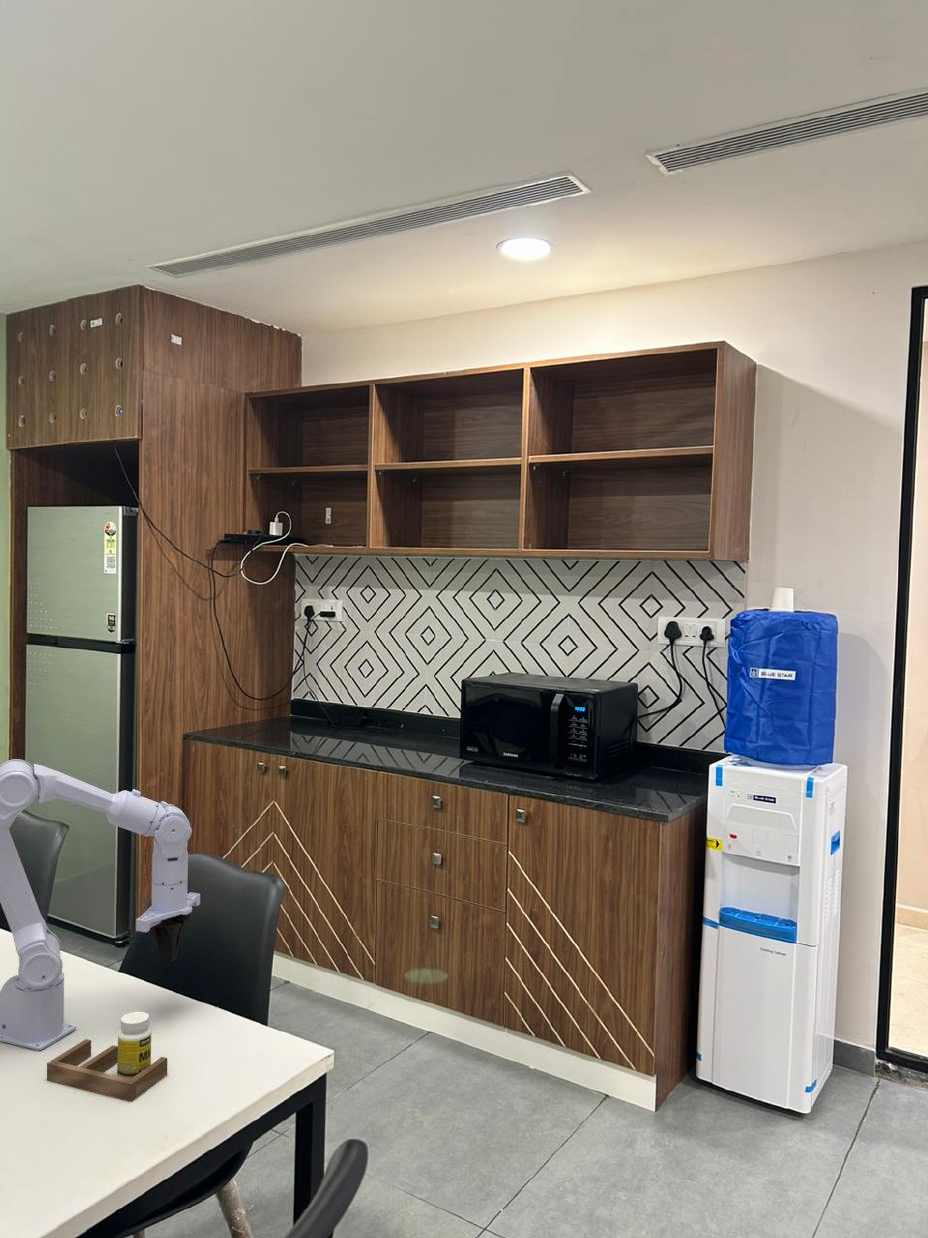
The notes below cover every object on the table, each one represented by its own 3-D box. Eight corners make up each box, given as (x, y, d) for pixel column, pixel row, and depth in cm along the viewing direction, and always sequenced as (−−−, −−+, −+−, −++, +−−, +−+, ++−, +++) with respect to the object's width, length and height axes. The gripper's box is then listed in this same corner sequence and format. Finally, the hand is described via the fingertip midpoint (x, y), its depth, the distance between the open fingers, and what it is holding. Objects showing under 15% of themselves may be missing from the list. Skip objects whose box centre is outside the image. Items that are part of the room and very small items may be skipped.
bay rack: (46, 1080, 139) (46, 1063, 139) (85, 1055, 147) (85, 1039, 147) (131, 1102, 134) (131, 1084, 134) (167, 1074, 142) (167, 1058, 141)
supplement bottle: (142, 1082, 139) (143, 1026, 139) (111, 1080, 140) (112, 1023, 139) (156, 1066, 144) (156, 1011, 144) (125, 1063, 144) (126, 1009, 144)
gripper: (162, 896, 152) (160, 980, 152) (215, 871, 165) (214, 948, 166) (125, 890, 154) (124, 973, 155) (181, 866, 168) (180, 942, 168)
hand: (168, 960), depth 160 cm, fingers closed
